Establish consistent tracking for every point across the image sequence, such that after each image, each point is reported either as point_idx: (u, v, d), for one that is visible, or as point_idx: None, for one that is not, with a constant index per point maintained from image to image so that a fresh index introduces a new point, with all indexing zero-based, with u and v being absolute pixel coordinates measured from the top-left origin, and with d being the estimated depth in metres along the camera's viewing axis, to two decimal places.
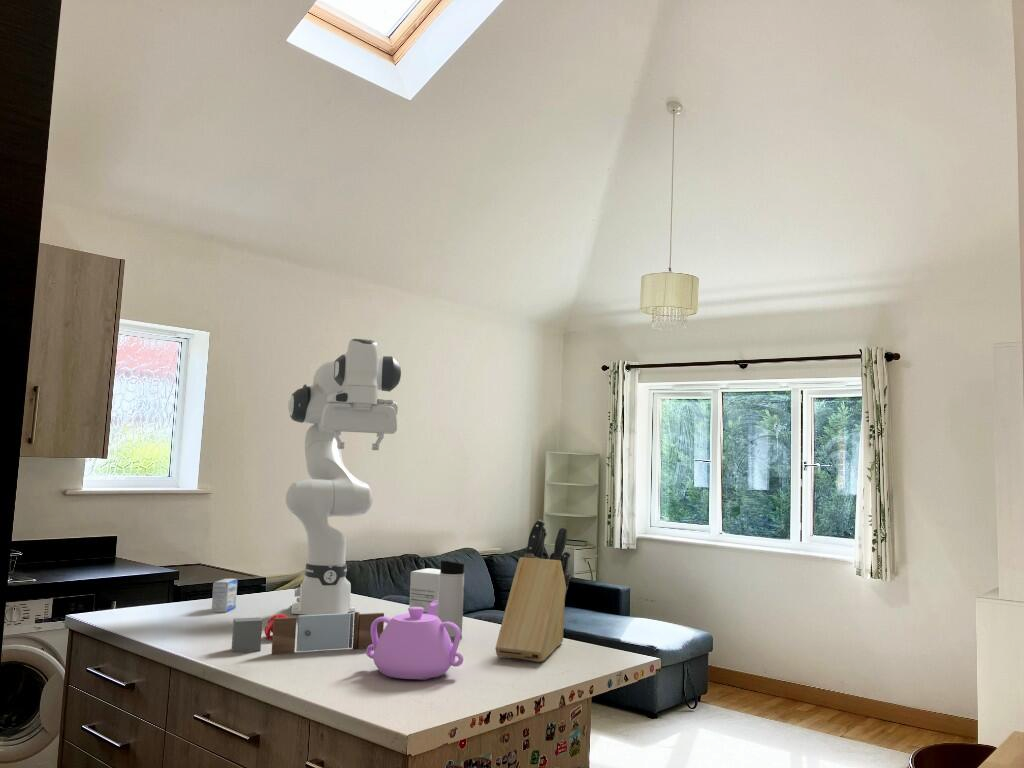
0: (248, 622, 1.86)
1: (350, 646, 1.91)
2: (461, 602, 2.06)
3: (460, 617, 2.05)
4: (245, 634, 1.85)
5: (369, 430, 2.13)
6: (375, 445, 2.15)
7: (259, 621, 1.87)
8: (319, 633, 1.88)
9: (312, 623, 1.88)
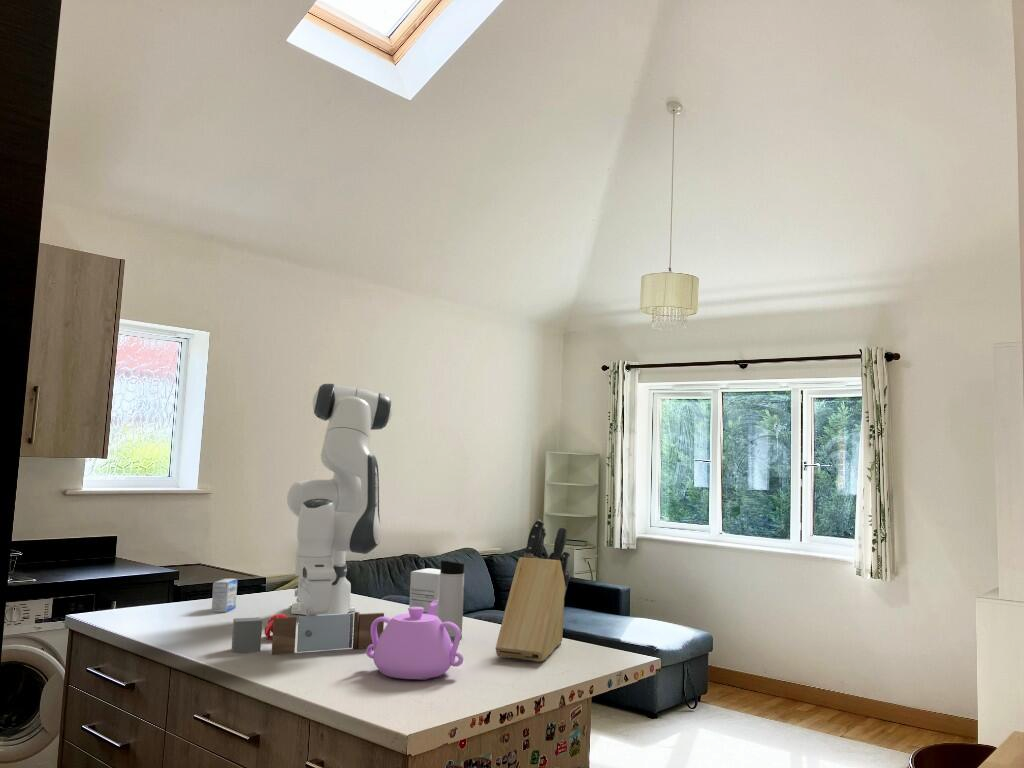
0: (248, 622, 1.86)
1: (350, 646, 1.91)
2: (461, 602, 2.06)
3: (460, 617, 2.05)
4: (245, 634, 1.85)
5: None
6: None
7: (259, 621, 1.87)
8: (320, 633, 1.88)
9: (313, 623, 1.87)
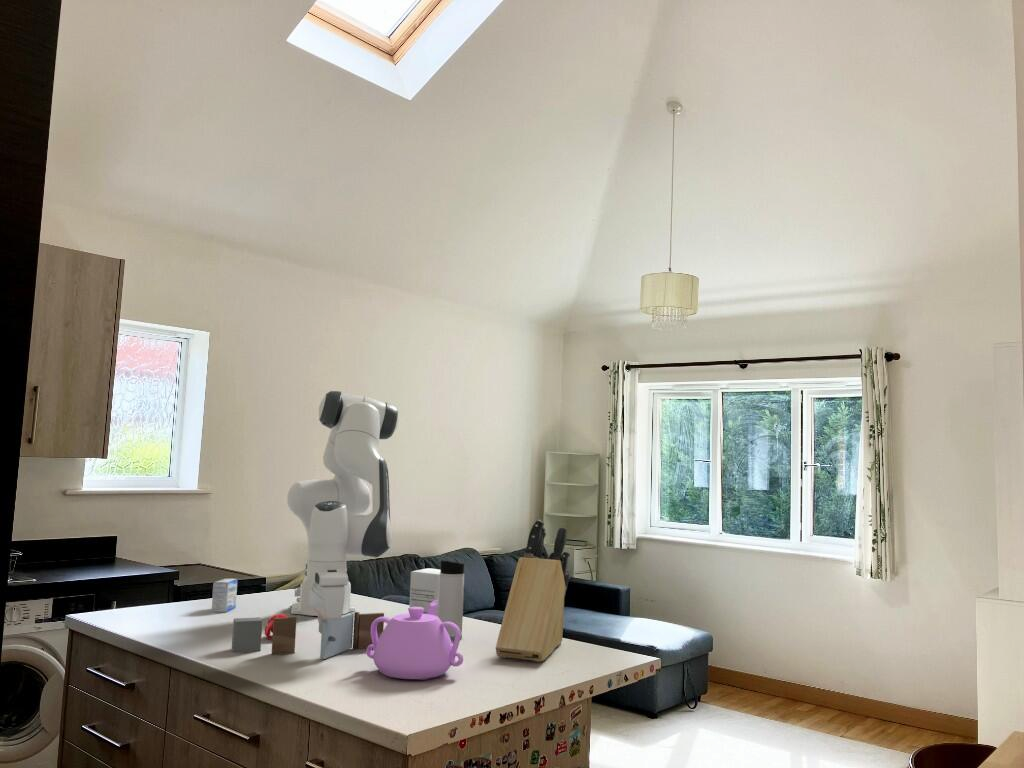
0: (248, 622, 1.86)
1: (351, 646, 1.91)
2: (461, 602, 2.06)
3: (460, 617, 2.05)
4: (245, 634, 1.85)
5: None
6: None
7: (259, 621, 1.87)
8: (336, 637, 1.84)
9: (332, 628, 1.83)
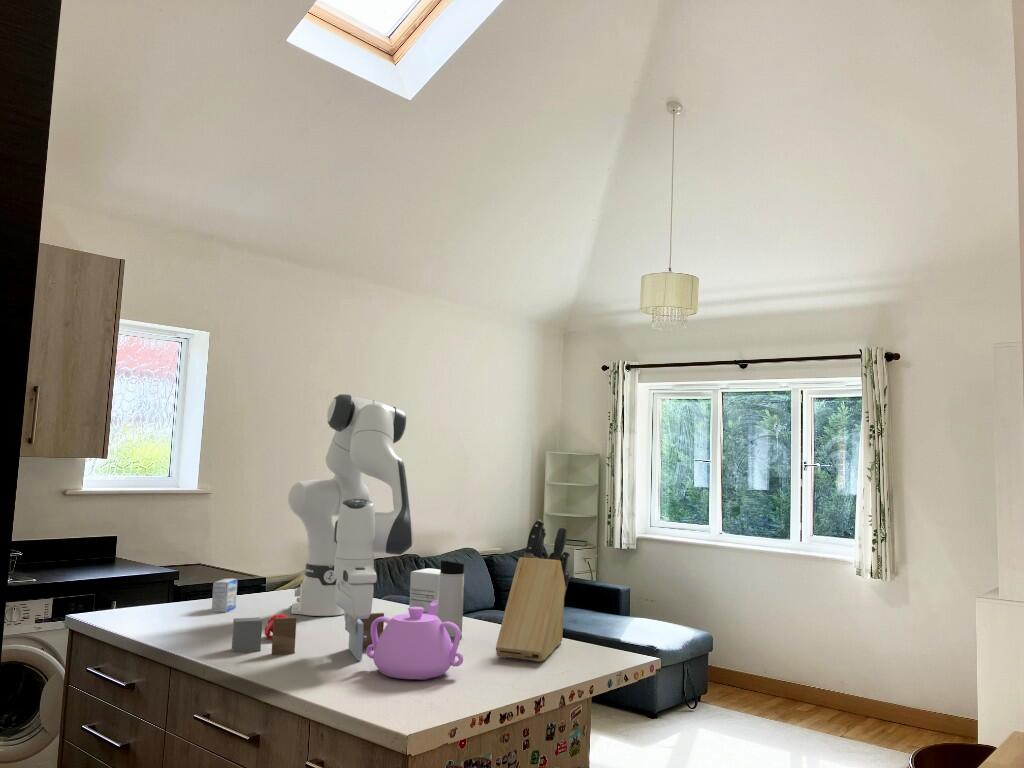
0: (248, 622, 1.86)
1: None
2: (461, 602, 2.06)
3: (460, 617, 2.05)
4: (245, 634, 1.85)
5: None
6: None
7: (259, 621, 1.87)
8: None
9: None
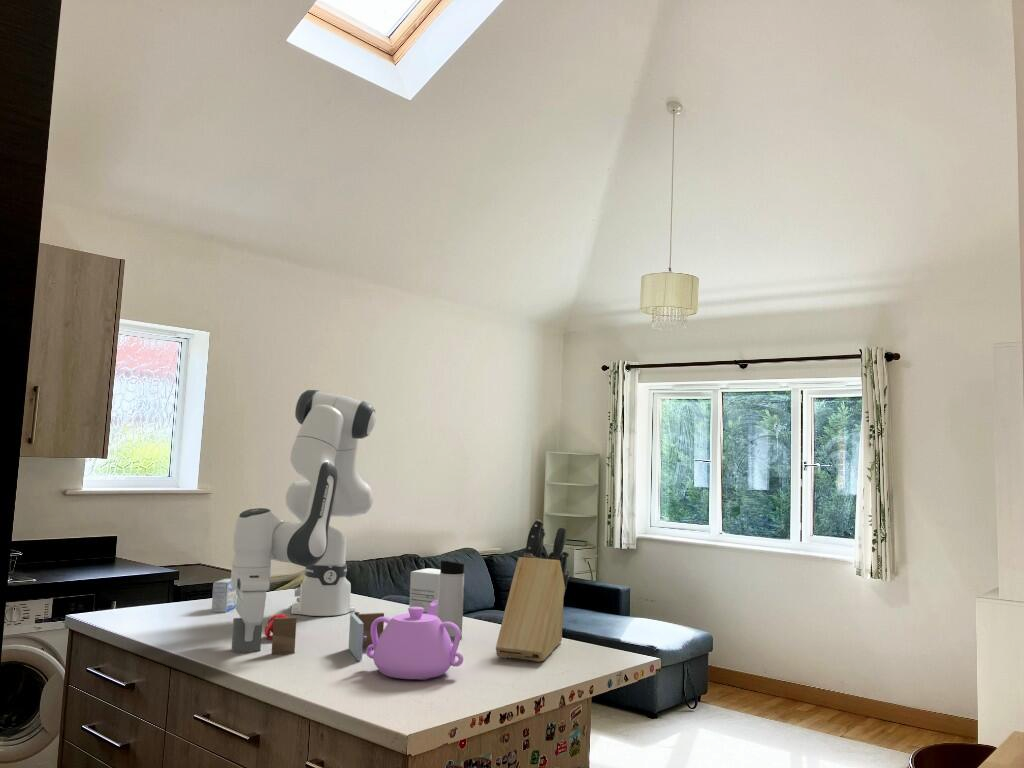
0: None
1: None
2: (461, 602, 2.06)
3: (460, 617, 2.05)
4: None
5: None
6: None
7: None
8: None
9: None
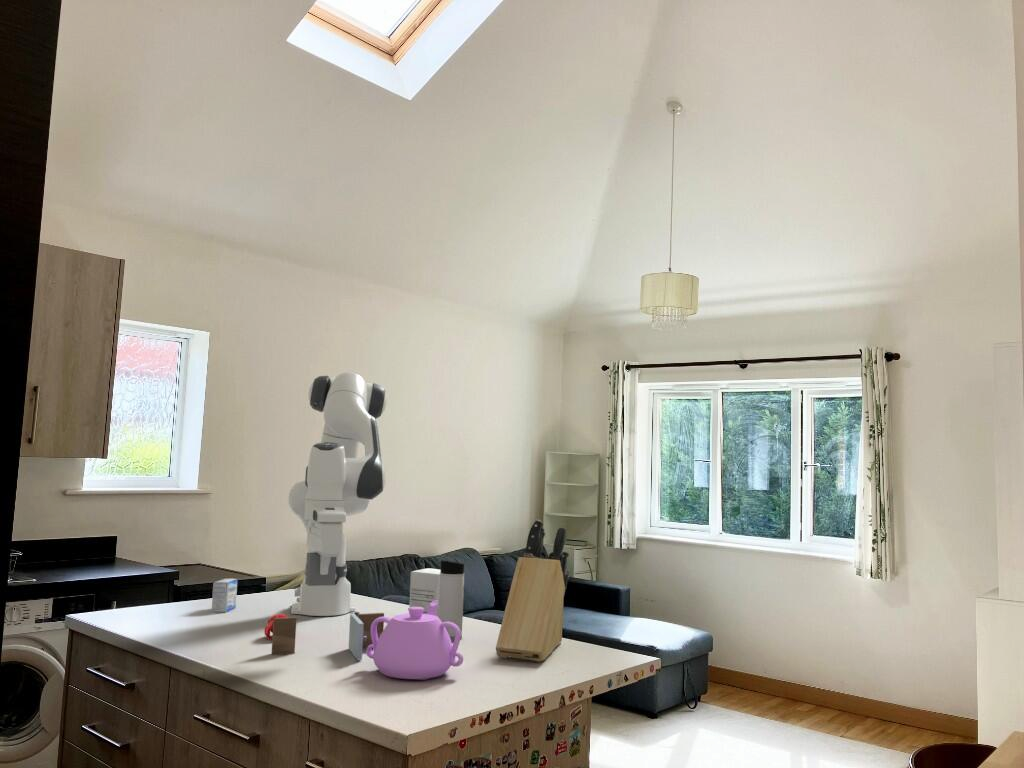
0: None
1: None
2: (461, 602, 2.06)
3: (460, 617, 2.05)
4: None
5: None
6: None
7: None
8: None
9: None
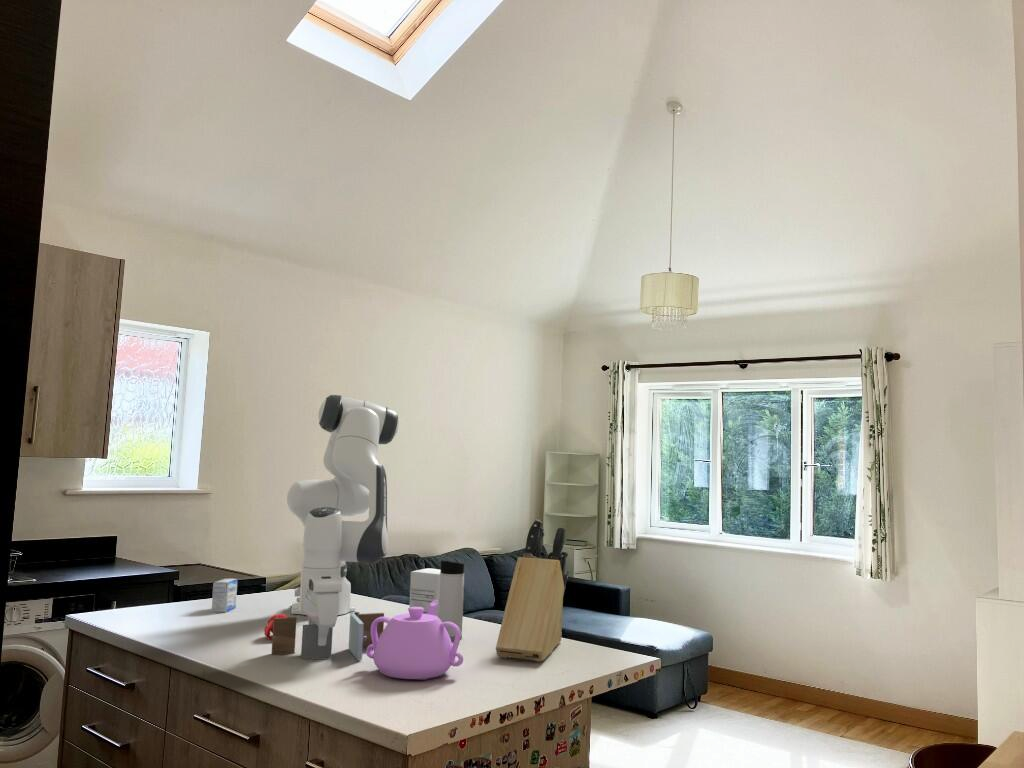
0: None
1: None
2: (461, 602, 2.06)
3: (460, 617, 2.05)
4: (316, 641, 1.81)
5: None
6: None
7: None
8: None
9: None
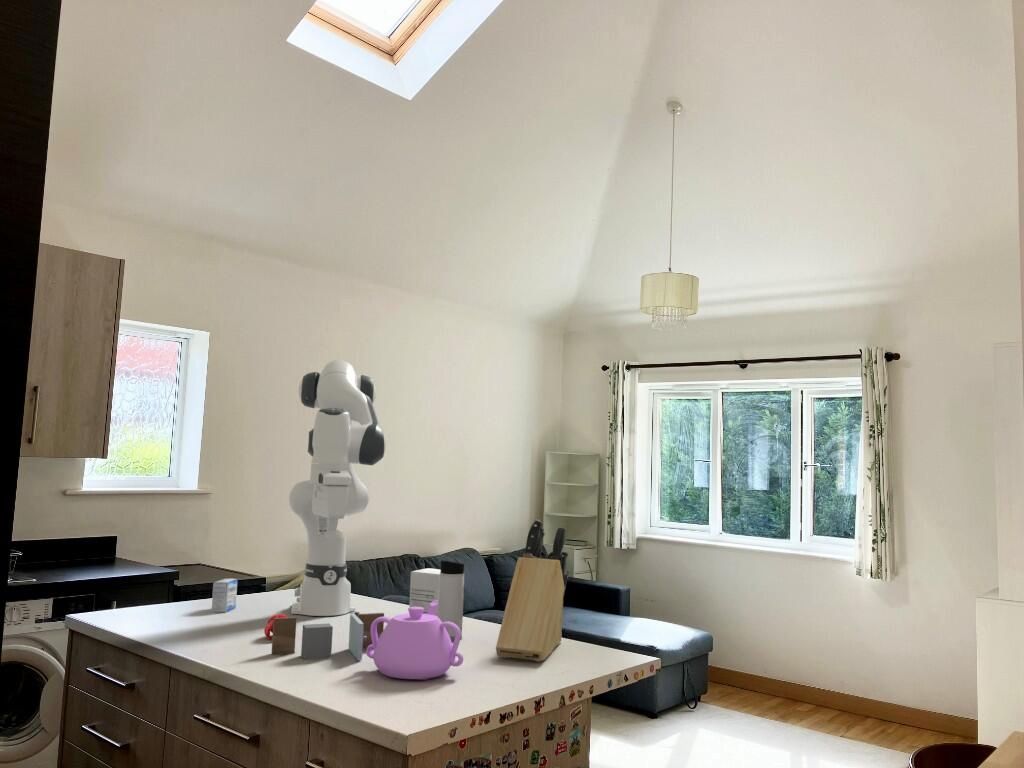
0: (319, 628, 1.81)
1: None
2: (461, 602, 2.06)
3: (460, 617, 2.05)
4: (315, 641, 1.81)
5: None
6: None
7: (329, 627, 1.82)
8: None
9: None
